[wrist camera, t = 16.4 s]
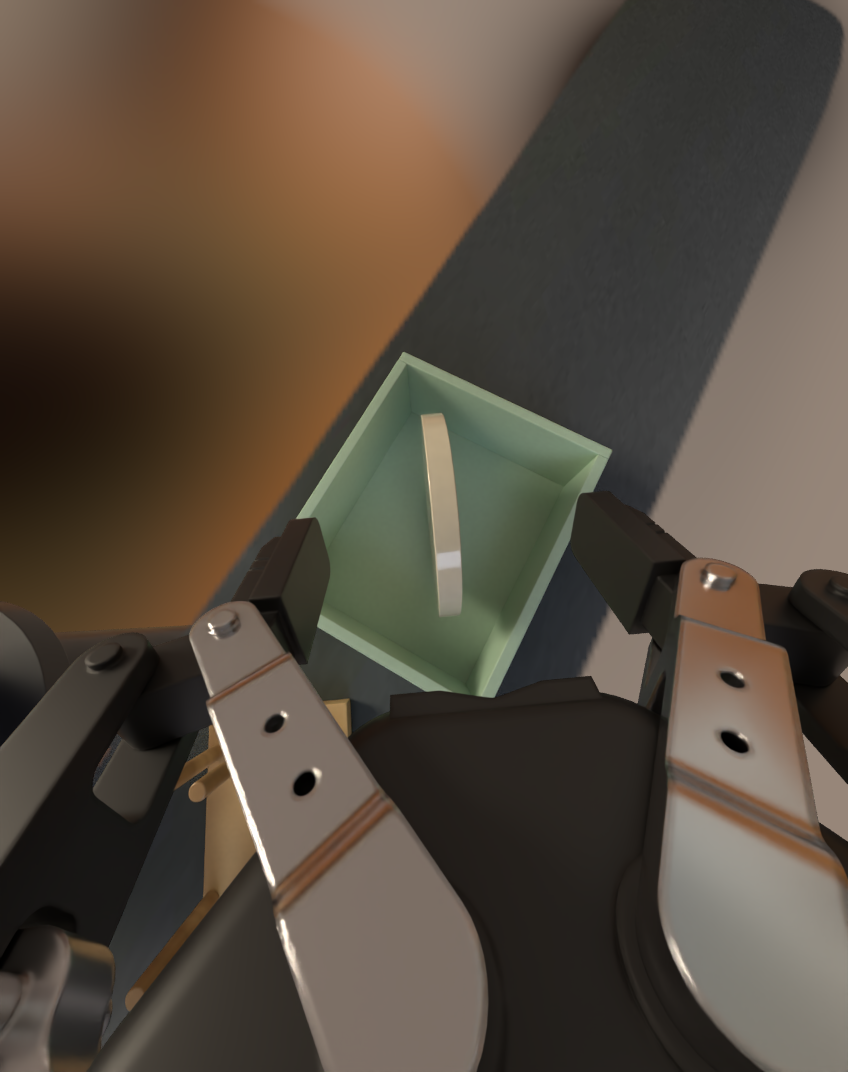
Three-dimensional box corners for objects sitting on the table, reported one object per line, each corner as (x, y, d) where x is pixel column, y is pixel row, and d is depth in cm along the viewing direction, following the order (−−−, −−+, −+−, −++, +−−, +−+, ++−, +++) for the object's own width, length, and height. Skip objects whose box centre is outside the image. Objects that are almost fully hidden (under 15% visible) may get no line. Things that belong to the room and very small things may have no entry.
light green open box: (468, 696, 21) (481, 724, 16) (293, 593, 23) (251, 587, 17) (571, 486, 24) (613, 449, 19) (409, 406, 26) (403, 351, 20)
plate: (436, 617, 22) (441, 619, 12) (422, 466, 24) (417, 364, 14) (452, 615, 22) (471, 616, 12) (437, 465, 24) (441, 362, 14)
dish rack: (212, 928, 19) (117, 1068, 13) (219, 710, 22) (140, 746, 16) (359, 915, 19) (328, 1048, 13) (350, 698, 22) (320, 730, 16)
